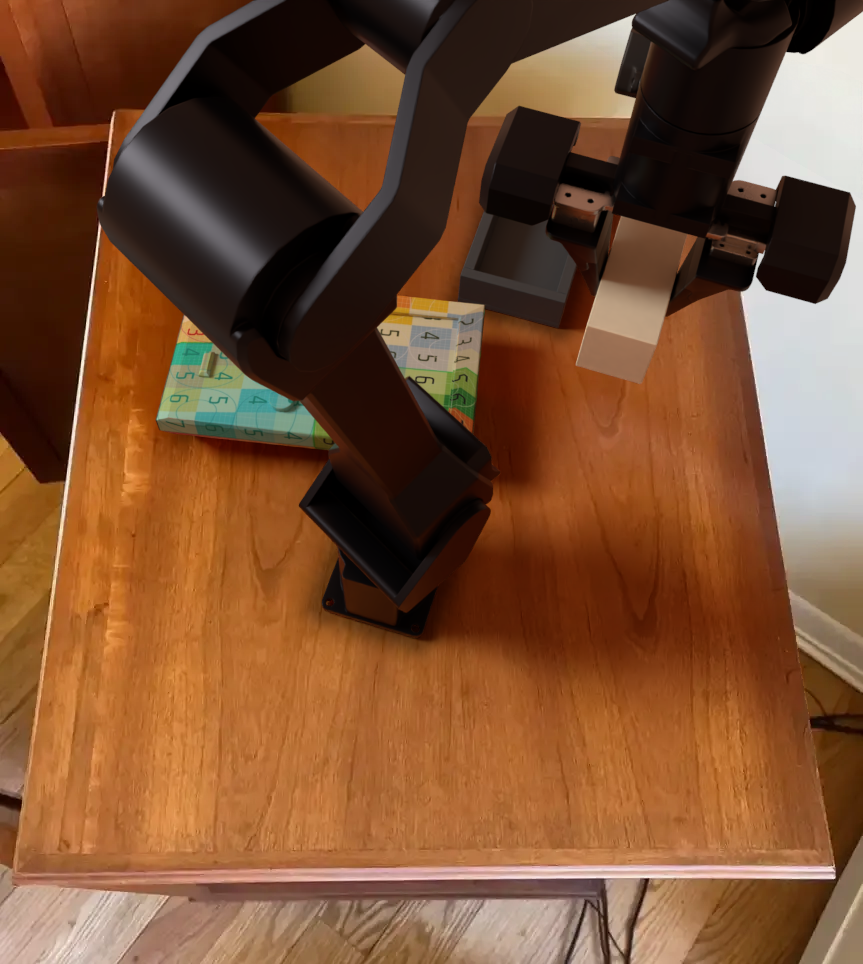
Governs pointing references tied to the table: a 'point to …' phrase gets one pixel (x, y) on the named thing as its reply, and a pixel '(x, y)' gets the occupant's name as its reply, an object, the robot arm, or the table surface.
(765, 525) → the table surface
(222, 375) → the puzzle game
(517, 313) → the tray
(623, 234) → the block
